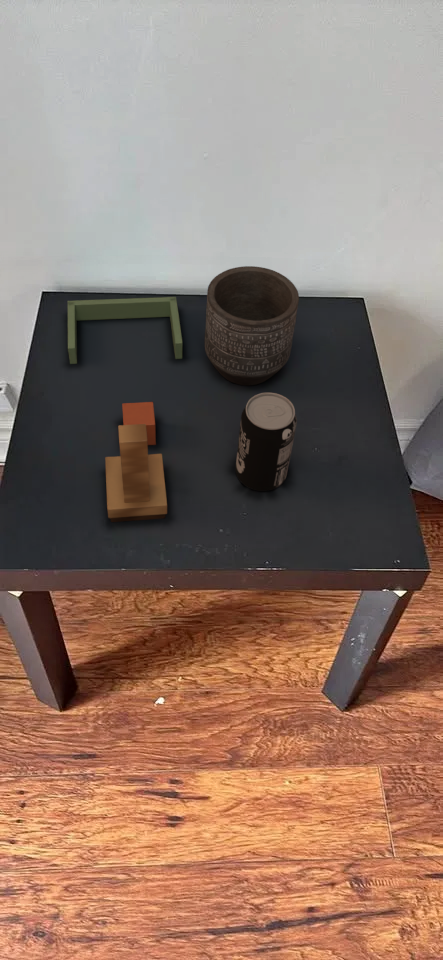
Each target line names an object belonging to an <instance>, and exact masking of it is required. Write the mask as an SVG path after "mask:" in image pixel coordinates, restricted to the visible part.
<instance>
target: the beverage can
mask: <svg viewBox="0 0 443 960" xmlns="http://www.w3.org/2000/svg"><path fill="white" fill-rule="evenodd" d="M297 425H298V418H297V415H296V410H295V406H294V403H292V401H291V400H290V399H288V398H287V397H286V396H285V395H282V394H279V393H276V392H260V393H258V394H255V395H254V396H252V397H251V398H249V399H248V401H247V403H246V405H245V406H244V408H243V409H242V412H241V415H240V425H239V431H238V432H239V433H238V442H237V451H236V460H235V461H236V462H235V474H236V477H237V479H238V480H239V481H240V482H241V483H242V484H243V485H244V486H245V487H247V488H248V489H251V490H254V491H257V492H266V491H267V492H268V491H272V490H275V489H277V488H279V487H280V486H281V485H283V484H284V482H285V480H286V478H287V475H288V470H289V466H290V460H291V456H292V450H293V445H294V441H295V435H296V429H297Z"/></svg>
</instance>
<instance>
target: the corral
mask: <svg viewBox="0 0 443 960" xmlns="http://www.w3.org/2000/svg"><path fill="white" fill-rule="evenodd" d="M145 318H146V319H147V318H169V321H170V329H171V336H172V337H171V338H172V344H173V352H174V359H175V360H182V359H183V337H182V336H183V335H182V329H181V324H180V323H181V322H180V315H179V309H178V301H177V297H176V296H161V297H136V298H135V297H134V298H133V297H132V298H111V299H109V298H108V299H83V300H81V299H79V300H67V352H68V359H69V365H76V364H78V333H77V332H78V329H77V328H78V327H77V326H78V325H77V324H78V323H77V321H95V320H96V321H101V320H121V319H123V320H125V319H145Z"/></svg>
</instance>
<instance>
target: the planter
mask: <svg viewBox="0 0 443 960" xmlns="http://www.w3.org/2000/svg"><path fill="white" fill-rule="evenodd" d="M206 293H207V294H206V308H205V309H206V310H205V311H206V312H205V327H204V328H205V329H204V351H205V354H206V356H207V358H208V360H209V361H210V363H211V364H212V366H213V367H214V368H215V370H217V372H218V373H219V374H220V375H221V377H223V378H224V379H226V380H227V381H228V382H231V383H233V384H236V385H240V386H257V385H260V384H261V383H264V382H267V380H270V378H272V377H274V375H275V374H277V373H278V372H279V371H280V370H282V369H283V368H284V366H285V365H286V364H287V362H288V361H289V359H290V356H291V351H292V346H293V340H294V339H293V338H294V333H295V329H296V321H297V315H298V308H299V302H300V295H299V294H300V293H299V291H298V288H297V287H296V285H295V284H294V283H293V282H292V280H290V278H288V277H287V276H285V275H283V274H282V273H280V272H278V271H276V270H273V269H270V268H266V267H262V266H254V265H253V266H251V265H249V266H248V265H245V266H236V267H233V268H229V269H227V270H224V271H222V272H220V273H219V274H217V275H216V276H214V277H213V278H212V280H211V281H210V283H209V285H208V286H207V292H206Z"/></svg>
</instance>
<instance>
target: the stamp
mask: <svg viewBox="0 0 443 960" xmlns="http://www.w3.org/2000/svg"><path fill="white" fill-rule="evenodd" d="M117 427H118V442H119V456H118V455H117V456H105V457H104V460H105V461H104V462H105V482H106V484H105V485H106V508H107V518H108V519H109V520H110V523H118V522H119V523H121V522H134V521H147V520H161V519H166V515H167V514H168V500H167V490H166V482H165V481H166V480H165V472H164V470H165V469H164V462H163V461H164V460H163V453H151V454H149V445H148V441H147V429H146V424H135V425H123V424H121V425H118V426H117Z"/></svg>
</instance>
